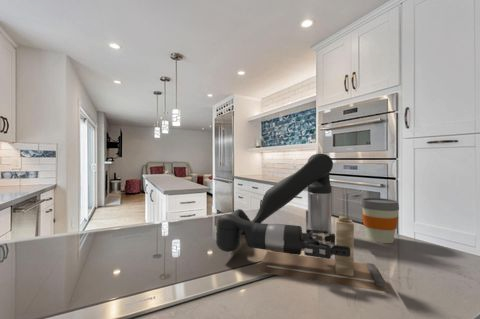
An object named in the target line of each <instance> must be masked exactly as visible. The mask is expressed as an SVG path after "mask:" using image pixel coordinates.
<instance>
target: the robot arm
mask: <svg viewBox="0 0 480 319" xmlns="http://www.w3.org/2000/svg"><path fill="white" fill-rule="evenodd" d="M333 166H334V163H333V159H332V158H331V157H330V155H328V154H326V153H315V154H313V155H311V156H310V157H308V160H307V162H306V163H305V164H303V165H302V167H301V168H299V169H298V170H297V171H295V172H294V173H292V174H291V175H289V176H287V177H285V178H283V179H281V180H280V181H279V182H277V183H275V184H274V185H273V186H272V187H269V189H267V190H266V191H265V193H264V195H263V197H262V200H261V202H260V203H261V204H260V207H259V209H258V211H257V213H256V215H255V217H254V218H253V220H251V219H250V218H249V216H248V215H247V214H246V213H245V212H244V210H243V209H241V208H239V209H236V210H234V211H233V212H231V213H224V214H222V215H220V216H219V217H218V219H217V227H216V240H215V242H216V243H215V244H216V246H217V248H218V249H219V250H221V251H223V252H227V253H229V252H234V251H235V250H237V249H238V248H239V247H240V244H241V236H242V235H244V237H245V242H246V245H247V246H248V247H249V248H251V249H257V250H265V251H269V252H276V253H285V254H293V255H301V254H302V250H303V251H304V256H309V257H317V258H325V259H331V258H332V257H333V256H335V255H338V256H346V257H349V256H350V247H348V246H340V245H335V234H333V233H332V186H331V180H330V172H332V170H333ZM306 188H307V209H305V232H303V227H302V226H300V225H293V224H282V223H263V222H264V221H265V220H267V219H268V218H270V216H272V215H274V214H276V212H278V211H279V210H281V209H282V208H284V207H285V206H286V205H287V204H289V203H290V202H291V201H292V200H294V199H295V198H296V197H298V196H299V195H300V194H301V193H302V192H303V191H304V190H306Z"/></svg>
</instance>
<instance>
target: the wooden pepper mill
mask: <svg viewBox="0 0 480 319" xmlns="http://www.w3.org/2000/svg"><path fill="white" fill-rule="evenodd" d="M334 220H335V222H334V235H335V243H334V245H340V246H348V247H350V256H349V257H346V256H338V255H334V260H335V270H336V274H341V275H348V276H354V262H355V259H354V258H355V257H354V254H355V253H354V250H355V249H354V248H355V247H354V245H355V244H354V243H355V242H354V240H355V237H354V236H355V232H354V231H355V230H354V228H355V226H354V225H355V223H354V221H353V220H352V219H350V217H349V216H343V215H340V216H338V218H335V219H334Z"/></svg>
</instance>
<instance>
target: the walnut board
mask: <svg viewBox="0 0 480 319" xmlns="http://www.w3.org/2000/svg"><path fill="white" fill-rule="evenodd" d="M256 272H257V273H258V272H259V273H264V274H271V275H277V276H284V277H289V278H297V279H302V280H310V281H315V282H323V283H329V284H336V285H342V286H348V287H354V288H355V287H356V288H361V289H366V290H367V289H368V290H373V291H374V290H375V291H381V292H386V293H391V291H390V290H389V288H388V285H387V284H386V282H385V280H384V279H383V277H382V275H381V274H380V272H379V270H378V269H377V267H376V265H375V264H374V263H370V262H366V263H363V262H357V261H354V276H348V275H341V274H336V270H335V259H331V258H330V259H327V258H320V257H314V256H307V255H301V254H300V255H295V254H287V253H280V252H274V251H269V250H266V253H265V255H264V256H263V258H262V261H261V262H260V264H259V265H258V267H257V270H256Z"/></svg>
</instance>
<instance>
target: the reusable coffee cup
mask: <svg viewBox="0 0 480 319" xmlns="http://www.w3.org/2000/svg"><path fill="white" fill-rule="evenodd" d="M360 206H361V207H362V208H361V209H362V212H361V215H362V223H363V226H364V229H365V236H366V239H368V240H369V241H372V242H375V243H380V244H393V243H394V241H395V232H396V230H397V228H398V221H399V215H398V214H399V210H400V205H399V201H398V200H395V199H390V198H382V197H381V198H380V197H365V198H361V205H360Z"/></svg>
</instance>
